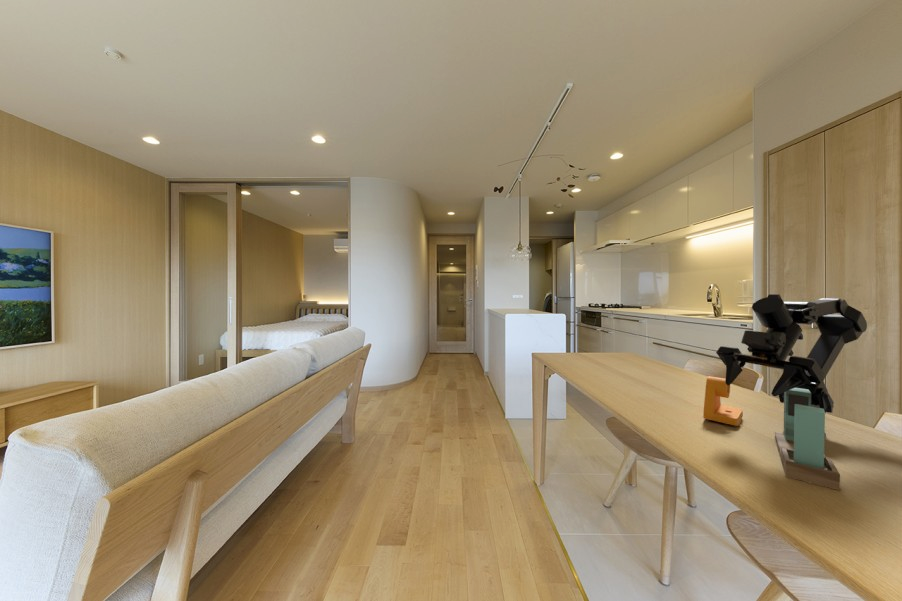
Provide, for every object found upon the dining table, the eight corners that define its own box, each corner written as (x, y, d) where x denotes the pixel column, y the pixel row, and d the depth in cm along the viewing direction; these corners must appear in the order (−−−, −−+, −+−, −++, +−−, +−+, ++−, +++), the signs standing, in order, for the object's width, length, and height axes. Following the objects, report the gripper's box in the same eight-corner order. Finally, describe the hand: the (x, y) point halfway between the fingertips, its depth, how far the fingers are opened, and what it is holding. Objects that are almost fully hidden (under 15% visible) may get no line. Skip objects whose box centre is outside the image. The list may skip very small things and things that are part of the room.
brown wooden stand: (774, 437, 81) (775, 384, 80) (816, 446, 76) (817, 390, 76) (785, 476, 64) (786, 410, 64) (839, 490, 60) (841, 419, 59)
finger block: (793, 459, 68) (794, 403, 67) (822, 467, 65) (823, 408, 64) (793, 466, 65) (794, 408, 65) (823, 474, 62) (825, 413, 62)
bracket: (736, 429, 86) (737, 384, 86) (703, 421, 92) (703, 379, 92) (743, 418, 94) (743, 377, 93) (711, 411, 99) (711, 372, 99)
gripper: (721, 316, 87) (692, 359, 84) (817, 322, 69) (785, 378, 66) (739, 343, 90) (712, 386, 87) (837, 355, 72) (807, 410, 69)
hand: (748, 389), depth 77 cm, fingers open, 9 cm apart
